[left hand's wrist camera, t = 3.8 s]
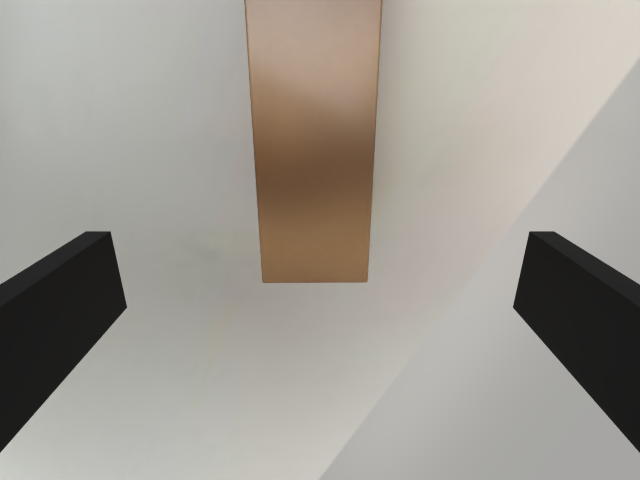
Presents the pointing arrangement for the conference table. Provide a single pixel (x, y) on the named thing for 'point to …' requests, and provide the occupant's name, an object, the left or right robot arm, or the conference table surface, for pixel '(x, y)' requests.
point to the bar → (314, 134)
